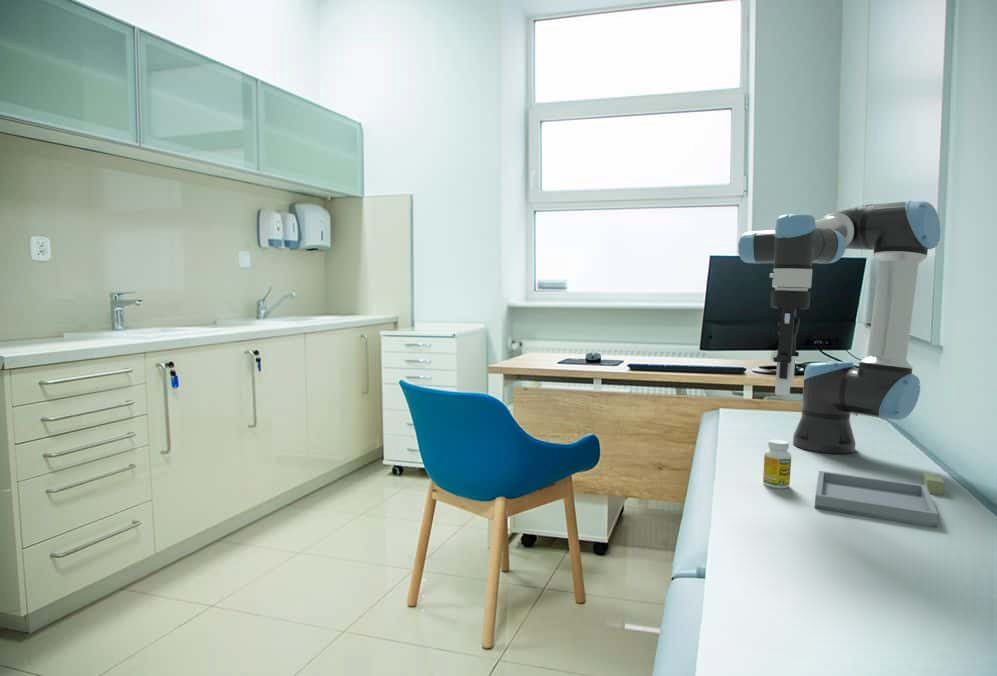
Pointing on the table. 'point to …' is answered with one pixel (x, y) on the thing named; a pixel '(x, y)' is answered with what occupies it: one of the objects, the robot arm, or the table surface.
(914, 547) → the table surface
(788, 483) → the supplement bottle
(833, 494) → the slate tray
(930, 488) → the olive brick
